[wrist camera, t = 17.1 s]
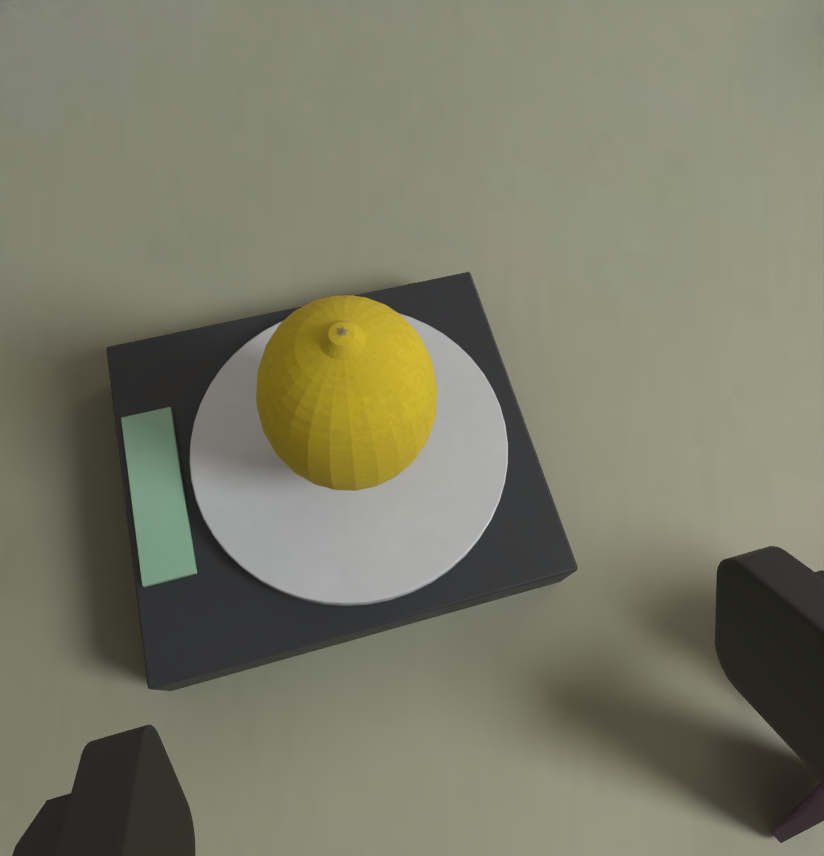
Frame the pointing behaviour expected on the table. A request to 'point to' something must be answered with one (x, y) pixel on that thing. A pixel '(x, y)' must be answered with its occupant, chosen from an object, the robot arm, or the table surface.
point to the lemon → (346, 392)
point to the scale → (319, 500)
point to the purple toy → (802, 816)
